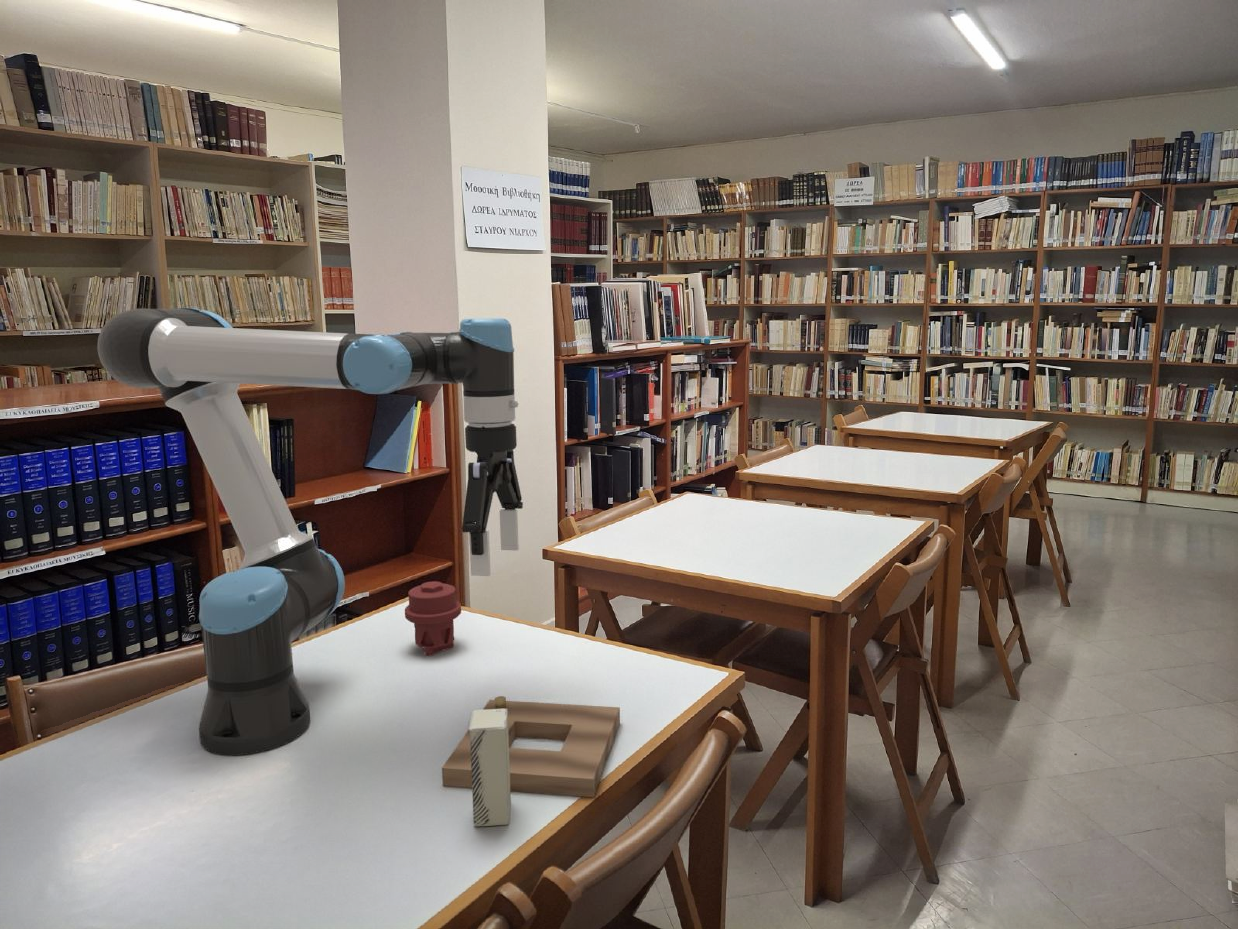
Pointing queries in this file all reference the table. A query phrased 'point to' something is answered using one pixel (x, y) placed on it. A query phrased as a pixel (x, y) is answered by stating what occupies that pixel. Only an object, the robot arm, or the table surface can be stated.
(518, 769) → the socket board
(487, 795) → the box
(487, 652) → the table surface
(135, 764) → the table surface
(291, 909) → the table surface
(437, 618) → the mechanical component
